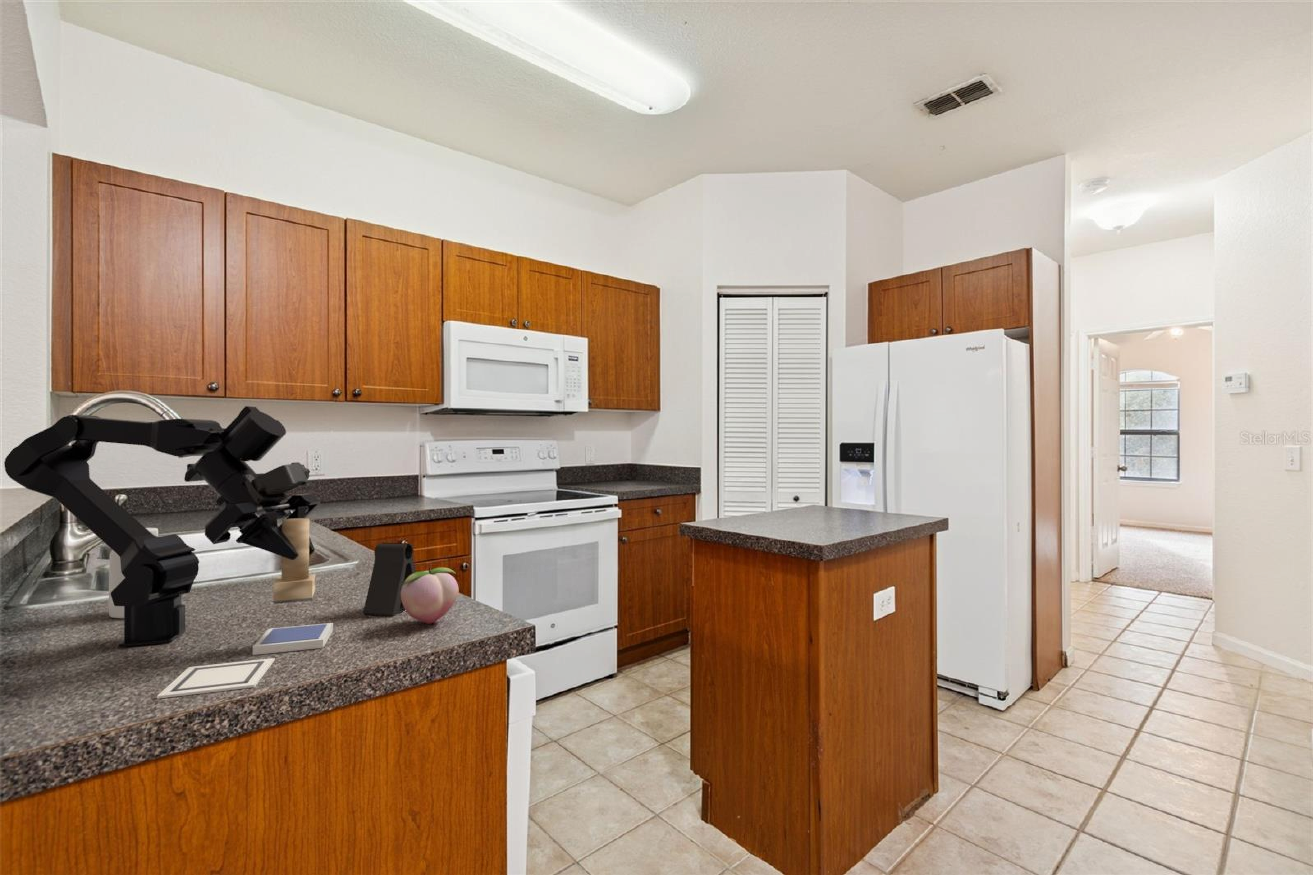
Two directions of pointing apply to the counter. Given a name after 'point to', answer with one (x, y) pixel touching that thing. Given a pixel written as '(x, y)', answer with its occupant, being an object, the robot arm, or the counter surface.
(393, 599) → the phone stand
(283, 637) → the ink pad
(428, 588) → the decorative fruit
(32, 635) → the counter surface
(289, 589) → the stamp
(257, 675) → the card
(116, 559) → the pill bottle
